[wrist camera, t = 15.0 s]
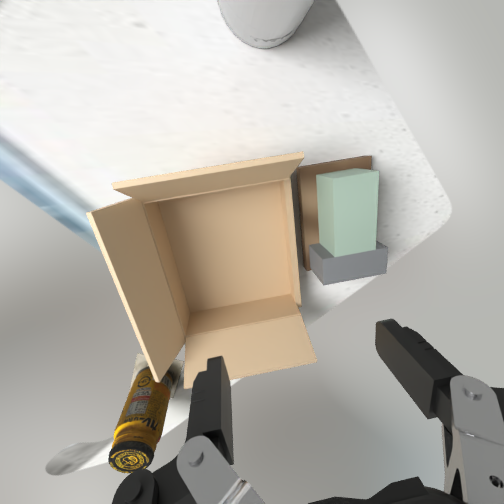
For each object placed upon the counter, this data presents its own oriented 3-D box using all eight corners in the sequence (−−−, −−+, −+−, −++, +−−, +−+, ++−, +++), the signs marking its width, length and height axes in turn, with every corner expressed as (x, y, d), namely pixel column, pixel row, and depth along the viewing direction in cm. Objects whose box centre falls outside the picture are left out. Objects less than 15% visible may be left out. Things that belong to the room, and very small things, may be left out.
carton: (128, 175, 30) (74, 188, 19) (281, 150, 31) (313, 149, 20) (177, 326, 38) (160, 395, 27) (295, 303, 39) (324, 361, 28)
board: (296, 167, 31) (299, 167, 30) (365, 155, 32) (371, 155, 30) (303, 266, 37) (306, 270, 35) (362, 255, 37) (368, 259, 36)
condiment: (129, 391, 42) (96, 477, 31) (137, 352, 39) (104, 431, 28) (173, 396, 43) (157, 480, 32) (184, 359, 41) (170, 437, 30)
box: (304, 176, 31) (318, 181, 26) (367, 166, 31) (392, 168, 26) (310, 267, 35) (323, 285, 31) (364, 257, 36) (386, 273, 31)
